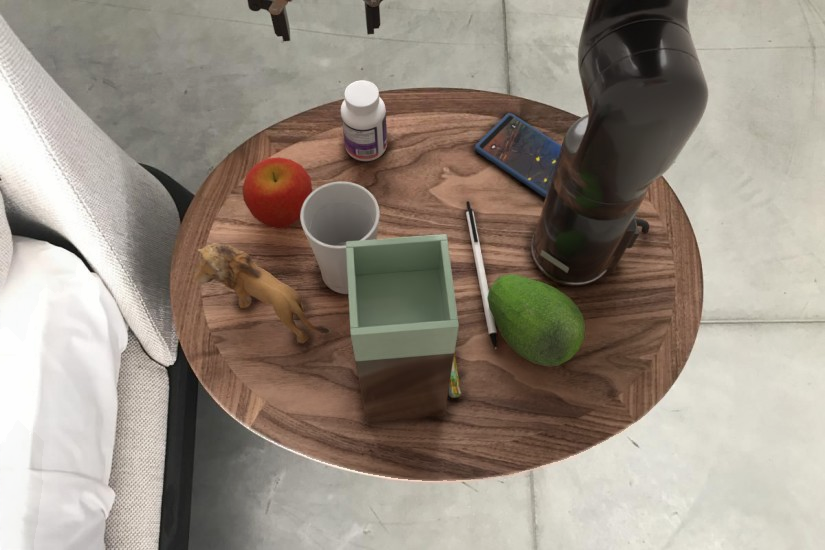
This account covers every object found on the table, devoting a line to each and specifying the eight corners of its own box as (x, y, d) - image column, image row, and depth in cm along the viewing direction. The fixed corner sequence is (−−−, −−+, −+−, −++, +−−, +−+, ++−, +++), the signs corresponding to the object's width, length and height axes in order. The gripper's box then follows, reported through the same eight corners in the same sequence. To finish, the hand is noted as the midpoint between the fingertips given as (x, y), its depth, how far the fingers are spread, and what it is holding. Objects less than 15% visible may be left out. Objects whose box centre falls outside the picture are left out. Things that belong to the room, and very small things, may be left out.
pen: (471, 203, 87) (471, 198, 86) (499, 349, 79) (500, 346, 78) (463, 204, 87) (464, 199, 86) (491, 350, 79) (492, 347, 78)
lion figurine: (203, 303, 81) (180, 265, 73) (227, 265, 83) (208, 225, 75) (319, 353, 79) (309, 319, 71) (341, 312, 81) (333, 275, 73)
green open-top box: (436, 342, 79) (446, 233, 58) (444, 415, 75) (459, 326, 54) (362, 349, 79) (345, 241, 58) (366, 422, 75) (350, 335, 54)
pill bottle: (364, 121, 93) (359, 68, 85) (395, 143, 92) (394, 90, 83) (335, 147, 91) (328, 95, 83) (368, 169, 90) (363, 119, 81)
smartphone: (509, 110, 93) (606, 172, 89) (508, 114, 94) (605, 176, 89) (472, 146, 90) (570, 212, 86) (472, 150, 91) (569, 216, 87)
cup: (374, 306, 81) (369, 254, 70) (306, 293, 82) (290, 240, 71) (389, 246, 85) (387, 188, 74) (323, 234, 85) (312, 175, 75)
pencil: (429, 251, 85) (449, 398, 76) (429, 246, 84) (449, 395, 75) (440, 250, 85) (461, 397, 76) (440, 245, 84) (461, 394, 75)
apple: (239, 203, 87) (225, 165, 80) (296, 174, 89) (287, 134, 82) (270, 250, 84) (257, 214, 77) (328, 218, 86) (321, 181, 79)
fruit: (570, 385, 77) (492, 324, 84) (612, 323, 76) (529, 267, 83) (538, 377, 70) (456, 312, 77) (583, 310, 69) (495, 250, 76)
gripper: (219, -82, 57) (259, 65, 71) (398, -95, 58) (402, 53, 72) (220, -140, 60) (258, 11, 75) (389, -152, 61) (394, 0, 76)
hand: (328, 31), depth 73 cm, fingers open, 8 cm apart
